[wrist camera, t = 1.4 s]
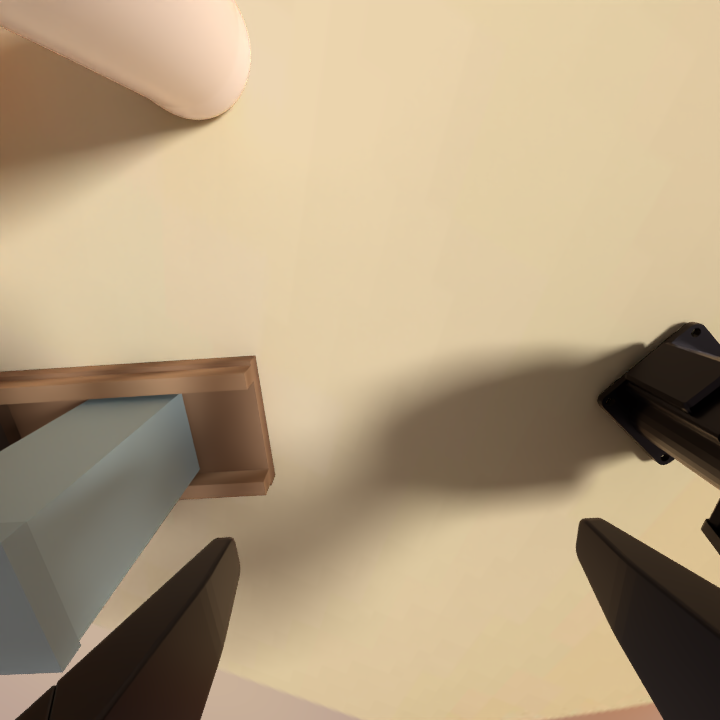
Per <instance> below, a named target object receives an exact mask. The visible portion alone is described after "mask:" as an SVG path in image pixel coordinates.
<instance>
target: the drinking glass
mask: <svg viewBox="0 0 720 720" xmlns="http://www.w3.org/2000/svg"><path fill="white" fill-rule="evenodd" d="M0 26H1V27H3V28H5V29H7V30H9V31H11V32H13V33H15V34H17V35H19V36H21V37H23V38H25V39H28V40H30V41H32V42H34V43H36V44H38V45H40V46H42V47H44V48H46V49H48V50H50V51H52V52H54V53H56V54H59V55H61V56H63V57H65V58H67V59H69V60H71V61H73V62H75V63H77V64H79V65H81V66H83V67H85V68H87V69H89V70H91V71H93V72H95V73H97V74H99V75H102V76H104V77H106V78H108V79H110V80H112V81H114V82H116V83H118V84H120V85H122V86H124V87H126V88H128V89H130V90H132V91H134V92H136V93H138V94H140V95H142V96H144V97H146V98H148V99H149V100H151V101H152V102H154V103H155V104H157V105H158V106H160V107H161V108H163V109H164V110H166V111H168V112H170V113H172V114H174V115H176V116H179V117H182V118H186V119H191V120H205V119H210V118H214V117H216V116H219V115H221V114H222V113H224V112H226V111H227V110H228V109H230V108H231V107H232V106H233V105H234V104H235V103H236V101H237V100H238V99H239V97H240V96H241V94H242V92H243V90H244V88H245V86H246V83H247V80H248V76H249V72H250V65H251V48H250V41H249V35H248V31H247V28H246V25H245V22H244V19H243V16H242V14H241V12H240V10H239V8H238V6H237V4H236V2H235V0H0Z"/></svg>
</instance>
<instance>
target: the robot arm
mask: <svg viewBox="0 0 720 720" xmlns="http://www.w3.org/2000/svg"><path fill="white" fill-rule="evenodd" d="M693 329H695V330H694V333H693V334H691V332H692V331H693ZM609 398H611V399H610V401H609V402H608V403H606V401H607V400H608V399H609ZM598 404H599V405H600V406H601V407H602V408H603V409H604V410H605V411H606V412H607V413H608V414H609V415H610V416H611V417H612V418H613V419H614V420H615V421H616V422H617V423H618V424H619V425H620V426H621V427H622V428H623V430H624V431H625V432H626V433H627V434H628V435H629V436H630V437H631V438H632V439H633V440H634V441H635V442H636V443H637V444H638V445H639V446H640V447H641V448H642V449H643V450H644V451H645V452H646V453H647V454H648V455H649V456H650V457H651V458H652V459H653V460H654V461H656V462H657V463H659V464H660V465H665V464H668V463H670V462H671V461H673V460H674V459H676V460H677V461H679V462H680V463H682V464H683V465H685V466H686V467H688V468H689V469H690V470H692V471H693V472H695V473H696V474H698V475H699V476H700V477H702V478H703V479H705V480H706V481H708V482H709V483H710V484H712V485H713V486H715V487H716V488H718V489H719V490H720V344H719V343H718V342H717V341H716V339H715V338H714V337H713V336H712V334H711V333H710V332H709V331H708V330H707V328H706V327H705V326H704V325H702V324H699V323H695V322H689V323H687V324H685V325H684V326H683V327H682V328H680V329H679V330H678V331H677V332H675V333H674V334H673V335H672V336H671V337H669V338H668V339H667V340H666V341H665V342H663V343H662V344H661V345H660V346H658V347H657V348H656V349H655V350H654V351H652V352H651V353H650V354H649V355H648V356H646V357H645V358H644V359H643V360H641V361H640V362H639V363H638V364H637V365H635V366H634V367H633V368H632V369H631V370H629V371H628V372H627V373H626V374H624V375H623V376H622V377H621V378H620V379H618V380H617V381H616V382H615V383H614V384H612V385H611V386H610V387H609V388H607V389H606V390H605V391H604V392H603V393H601V394H600V396H599V397H598ZM662 455H663V456H662ZM701 530H702V532H703V533H704V534H705V536H706V537H707V538H708V540H709V541H710V542H711V544H712V545H713V546H714V548H715V549H716V550H717V552H718V553H719V555H720V499H719V501H718V502H717V504H716V506H715V508H714V510H713V512H712V514H711V516H710V518H709V519H706V520H705V522H704V523H703V525H702V527H701ZM576 553H577V556H578V559H579V561H580V563H581V565H582V568H583V570H584V572H585V574H586V576H587V578H588V580H589V583H590V585H591V587H592V589H593V591H594V593H595V595H596V597H597V600H598V602H599V604H600V606H601V608H602V610H603V612H604V614H605V617H606V619H607V621H608V623H609V625H610V627H611V629H612V631H613V633H614V634H615V636H616V638H617V640H618V642H619V643H620V645H621V647H622V649H623V650H624V652H625V654H626V656H627V657H628V659H629V661H630V662H631V664H632V666H633V668H634V669H635V671H636V673H637V675H638V676H639V678H640V680H641V681H642V683H643V685H644V687H645V688H646V690H647V692H648V693H649V695H650V697H651V699H652V700H653V702H654V704H655V706H656V707H657V709H658V711H659V712H660V714H661V716H662V718H663V719H664V720H720V588H719V587H717V586H715V585H714V584H712V583H710V582H709V581H707V580H705V579H704V578H702V577H700V576H698V575H697V574H695V573H693V572H692V571H690V570H688V569H687V568H685V567H683V566H681V565H680V564H678V563H676V562H675V561H673V560H671V559H670V558H668V557H666V556H665V555H663V554H661V553H659V552H658V551H656V550H654V549H653V548H651V547H649V546H648V545H646V544H644V543H642V542H641V541H639V540H637V539H636V538H634V537H632V536H631V535H629V534H627V533H626V532H624V531H622V530H620V529H619V528H617V527H615V526H614V525H612V524H610V523H609V522H607V521H605V520H603V519H601V518H585V519H582V520H581V521H580V522H579V527H578V534H577V541H576ZM239 576H240V561H239V557H238V552H237V548H236V544H235V541H234V539H233V538H231V537H226V538H216V539H214V540H213V541H211V542H210V543H209V544H208V545H207V546H206V547H205V548H204V549H203V550H202V551H200V552H199V553H198V554H197V555H196V556H195V557H194V558H193V559H192V560H191V561H189V562H188V563H187V564H186V565H185V566H184V567H183V568H182V569H181V570H180V571H178V572H177V573H176V574H175V575H174V576H173V577H172V578H171V579H170V580H169V581H167V582H166V583H165V584H164V585H163V586H162V587H161V588H160V589H159V590H158V591H157V592H155V593H154V594H153V595H152V596H151V597H150V598H149V599H148V600H147V601H146V602H144V603H143V604H142V605H141V606H140V607H139V608H138V609H137V610H136V611H135V612H133V613H132V614H131V615H130V616H129V617H128V618H127V619H126V620H125V621H124V622H122V623H121V624H120V625H119V626H118V627H117V628H116V629H115V630H114V631H113V632H111V633H110V634H109V635H108V636H107V637H106V638H105V639H104V640H103V641H102V642H101V643H99V644H98V645H97V646H96V647H95V648H94V649H93V650H92V651H91V652H89V654H87V655H86V656H85V657H84V658H83V659H82V660H81V661H80V662H79V663H77V664H76V665H75V666H74V667H73V668H72V669H71V670H70V671H69V672H67V673H66V674H65V675H64V676H63V677H62V678H61V679H60V680H59V681H58V682H57V685H56V686H52V687H51V688H50V689H49V690H47V691H46V692H45V693H44V694H43V695H42V696H41V697H40V698H39V699H38V700H37V701H35V702H34V703H33V704H32V705H31V706H30V707H29V708H28V709H27V710H25V711H24V712H23V713H22V714H21V715H20V716H19V717H17V718H16V719H15V720H200V719H201V716H202V713H203V710H204V707H205V704H206V701H207V698H208V695H209V691H210V688H211V685H212V682H213V679H214V676H215V673H216V670H217V667H218V664H219V660H220V657H221V654H222V650H223V647H224V642H225V638H226V634H227V630H228V625H229V621H230V616H231V612H232V607H233V603H234V598H235V594H236V589H237V585H238V581H239Z"/></svg>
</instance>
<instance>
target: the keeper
mask: <svg viewBox="0 0 720 720" xmlns="http://www.w3.org/2000/svg"><path fill="white" fill-rule="evenodd" d="M199 470H200V468H199V464H198V459H197V455H196V451H195V447H194V443H193V439H192V434H191V430H190V426H189V422H188V418H187V414H186V410H185V405H184V401H183V397H182V394H166V395H150V396H134V397H118V398H101V399H89V400H87V401H85V402H84V403H82V404H80V405H79V406H77V407H75V408H73V409H72V410H70V411H68V412H67V413H65V414H63V415H62V416H60V417H58V418H56V419H55V420H53V421H51V422H50V423H48V424H46V425H44V426H43V427H41V428H39V429H38V430H36V431H34V432H32V433H31V434H29V435H27V436H26V437H24V438H22V439H21V440H19V441H17V442H15V443H14V444H12V445H10V446H9V447H7V448H5V449H3V450H2V451H0V675H10V674H35V673H58V672H63V671H64V670H65V668H66V667H67V665H68V664H69V662H70V661H71V659H72V658H73V657H74V655H75V654H76V652H77V651H78V649H79V648H80V646H81V644H80V642H79V641H80V639H81V637H82V636H83V635H84V633H85V632H86V631H87V629H88V628H89V626H90V625H91V623H92V622H93V621H94V619H95V618H96V616H97V615H98V613H99V612H100V611H101V609H102V608H103V606H104V605H105V604H106V602H107V601H108V599H109V598H110V596H111V595H112V594H113V592H114V591H115V589H116V588H117V586H118V585H119V584H120V582H121V581H122V579H123V578H124V577H125V575H126V574H127V572H128V571H129V569H130V568H131V567H132V565H133V564H134V562H135V561H136V559H137V558H138V557H139V555H140V554H141V552H142V551H143V550H144V548H145V547H146V545H147V544H148V542H149V541H150V540H151V538H152V537H153V535H154V534H155V532H156V531H157V530H158V528H159V527H160V525H161V524H162V523H163V521H164V520H165V518H166V517H167V515H168V514H169V513H170V511H171V510H172V508H173V507H174V505H175V504H176V503H177V501H178V500H179V498H180V497H181V495H182V494H183V493H184V491H185V490H186V488H187V487H188V486H189V484H190V483H191V481H192V480H193V478H194V477H195V476H196V474H197V473H198V471H199Z"/></svg>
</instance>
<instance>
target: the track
mask: <svg viewBox="0 0 720 720" xmlns="http://www.w3.org/2000/svg"><path fill="white" fill-rule="evenodd" d="M166 394H182V397H183V401H184V405H185V410H186V414H187V418H188V422H189V426H190V430H191V434H192V439H193V443H194V447H195V451H196V455H197V459H198V464H199V468H200V470H199V471H198V473H197V474H196V476H195V477H194V478H193V480H192V481H191V483H190V484H189V486H188V487H187V488H186V490H185V491H184V493H183V494H182V495H181V497H180V498H179V500H184V499H202V498H220V497H239V496H257V495H266V493H267V491H268V488H269V485H272V482H273V480H274V477H275V472H274V466H273V460H272V454H271V447H270V441H269V435H268V429H267V423H266V417H265V411H264V405H263V399H262V393H261V387H260V381H259V375H258V369H257V363H256V357H255V356H243V357H227V358H211V359H195V360H180V361H164V362H148V363H133V364H117V365H101V366H85V367H70V368H54V369H38V370H23V371H7V372H0V451H2V450H3V449H5V448H7V447H9V446H10V445H12V444H14V443H15V442H17V441H19V440H21V439H22V438H24V437H26V436H27V435H29V434H31V433H32V432H34V431H36V430H38V429H39V428H41V427H43V426H44V425H46V424H48V423H50V422H51V421H53V420H55V419H56V418H58V417H60V416H62V415H63V414H65V413H67V412H68V411H70V410H72V409H73V408H75V407H77V406H79V405H80V404H82V403H84V402H85V401H87V400H89V399H101V398H118V397H134V396H150V395H166Z"/></svg>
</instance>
